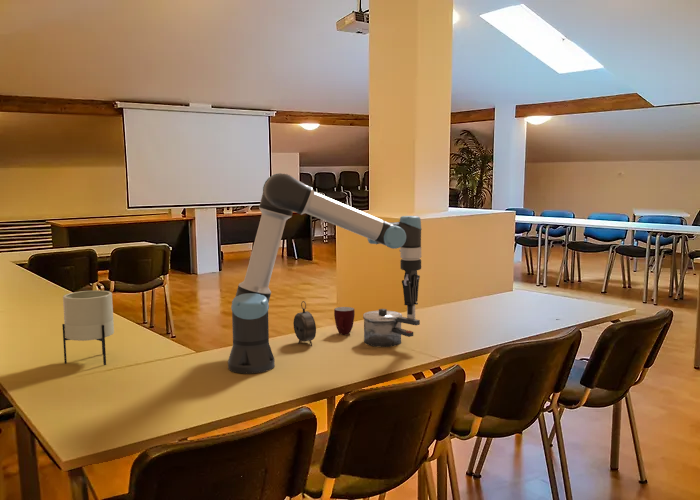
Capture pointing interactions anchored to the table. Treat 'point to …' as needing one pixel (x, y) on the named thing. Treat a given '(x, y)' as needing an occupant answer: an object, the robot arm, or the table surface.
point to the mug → (344, 319)
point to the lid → (388, 317)
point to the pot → (384, 333)
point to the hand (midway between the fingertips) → (411, 322)
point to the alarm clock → (304, 326)
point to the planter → (88, 317)
